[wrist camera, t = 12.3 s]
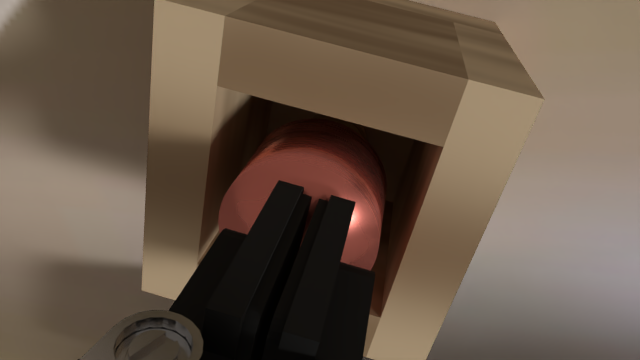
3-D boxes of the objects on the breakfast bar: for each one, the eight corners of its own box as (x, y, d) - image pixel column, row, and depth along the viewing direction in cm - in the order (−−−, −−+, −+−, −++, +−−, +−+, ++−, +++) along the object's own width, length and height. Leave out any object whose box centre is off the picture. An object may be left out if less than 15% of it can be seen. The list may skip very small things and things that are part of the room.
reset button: (416, 152, 15) (412, 256, 11) (327, 209, 17) (289, 321, 12) (343, 59, 15) (305, 128, 10) (256, 127, 16) (186, 216, 11)
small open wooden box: (263, -36, 17) (154, -3, 10) (494, 22, 17) (544, 99, 10) (234, 166, 21) (141, 290, 14) (421, 218, 21) (419, 372, 14)
